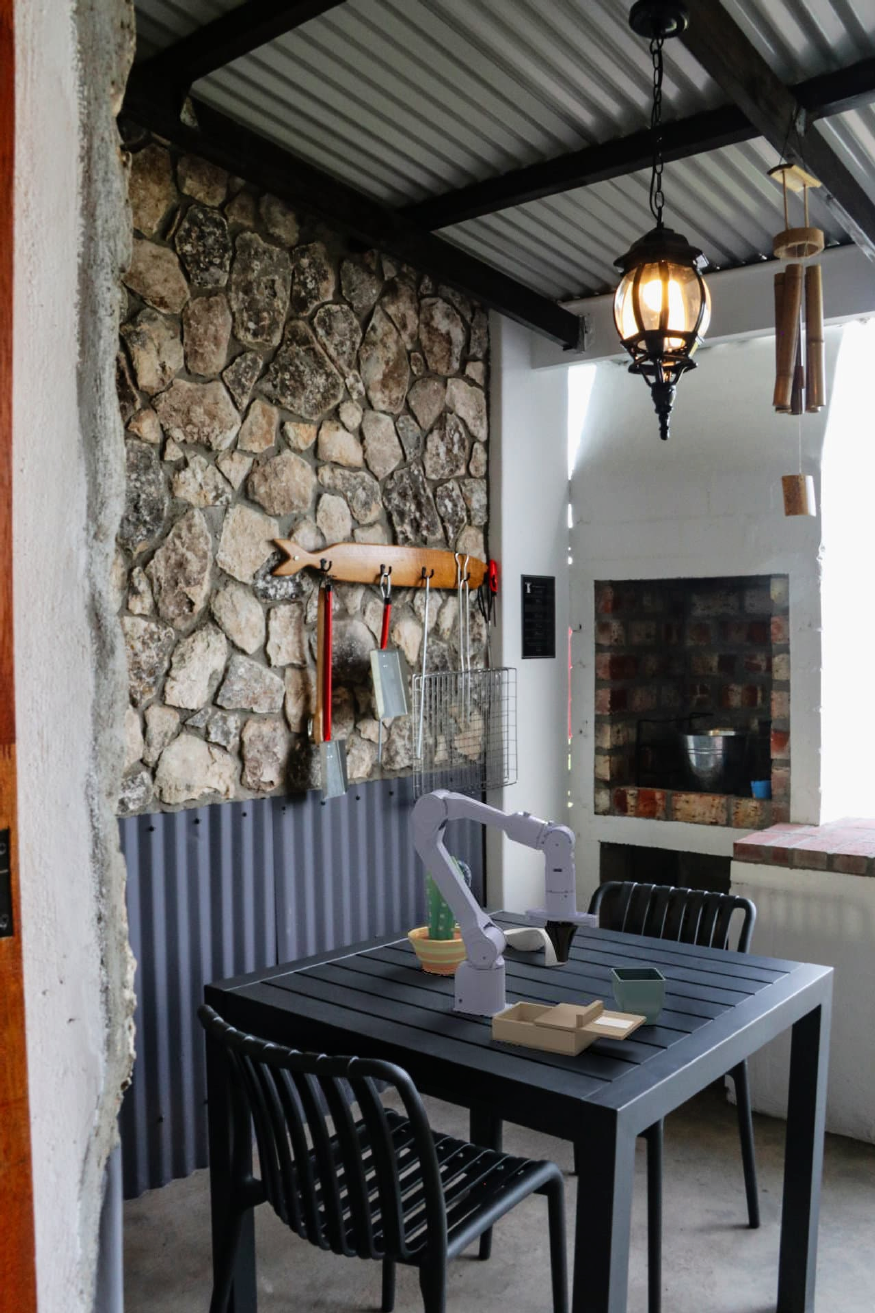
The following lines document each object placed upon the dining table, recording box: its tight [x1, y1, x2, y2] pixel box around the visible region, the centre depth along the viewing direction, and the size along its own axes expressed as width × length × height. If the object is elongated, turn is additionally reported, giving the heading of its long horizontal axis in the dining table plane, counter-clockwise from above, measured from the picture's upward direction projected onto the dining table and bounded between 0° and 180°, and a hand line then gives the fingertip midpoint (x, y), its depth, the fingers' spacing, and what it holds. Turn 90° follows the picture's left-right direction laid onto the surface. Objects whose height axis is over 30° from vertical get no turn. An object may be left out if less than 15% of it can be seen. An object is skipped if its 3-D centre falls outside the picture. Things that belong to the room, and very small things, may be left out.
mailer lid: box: [533, 999, 646, 1041], centre depth 189 cm, size 16×12×3 cm
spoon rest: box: [503, 927, 566, 967], centre depth 252 cm, size 24×12×7 cm, turn 18°
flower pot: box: [610, 967, 667, 1026], centre depth 202 cm, size 9×9×9 cm
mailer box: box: [491, 1001, 601, 1057], centre depth 193 cm, size 16×11×4 cm
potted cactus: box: [407, 855, 472, 975], centre depth 239 cm, size 15×15×25 cm
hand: (562, 961), depth 206 cm, fingers closed
